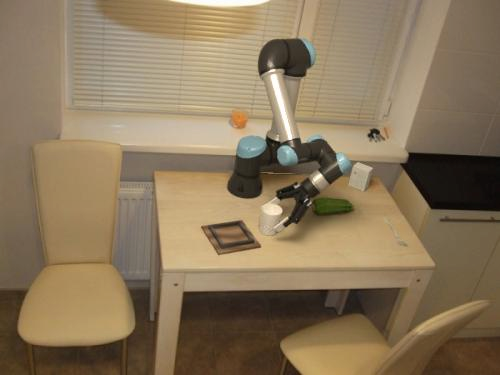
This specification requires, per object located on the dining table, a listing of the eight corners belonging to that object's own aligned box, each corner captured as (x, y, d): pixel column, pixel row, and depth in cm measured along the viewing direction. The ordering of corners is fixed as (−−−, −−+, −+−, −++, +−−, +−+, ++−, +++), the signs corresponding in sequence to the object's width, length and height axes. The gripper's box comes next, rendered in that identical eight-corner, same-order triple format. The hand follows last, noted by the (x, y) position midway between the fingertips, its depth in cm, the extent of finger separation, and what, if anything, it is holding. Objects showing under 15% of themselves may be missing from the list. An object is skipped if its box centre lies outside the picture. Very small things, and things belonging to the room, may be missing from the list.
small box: (368, 187, 251) (374, 167, 245) (363, 192, 247) (369, 172, 241) (352, 181, 254) (357, 161, 249) (347, 185, 250) (353, 165, 244)
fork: (385, 213, 234) (386, 210, 233) (407, 248, 214) (408, 244, 213) (378, 213, 233) (379, 209, 232) (399, 247, 213) (400, 244, 212)
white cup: (254, 225, 211) (258, 204, 206) (273, 223, 214) (277, 202, 209) (262, 237, 205) (266, 215, 200) (281, 235, 208) (285, 214, 203)
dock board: (201, 227, 204) (201, 222, 203) (241, 221, 212) (242, 216, 211) (218, 255, 192) (219, 249, 191) (260, 247, 199) (261, 242, 198)
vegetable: (313, 194, 221) (355, 192, 229) (306, 203, 227) (348, 200, 234) (318, 210, 218) (361, 207, 225) (311, 218, 224) (353, 215, 231)
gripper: (333, 208, 195) (286, 244, 198) (307, 173, 215) (266, 206, 218) (322, 196, 190) (275, 233, 193) (297, 162, 211) (255, 196, 214)
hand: (270, 219), depth 206 cm, fingers open, 13 cm apart
